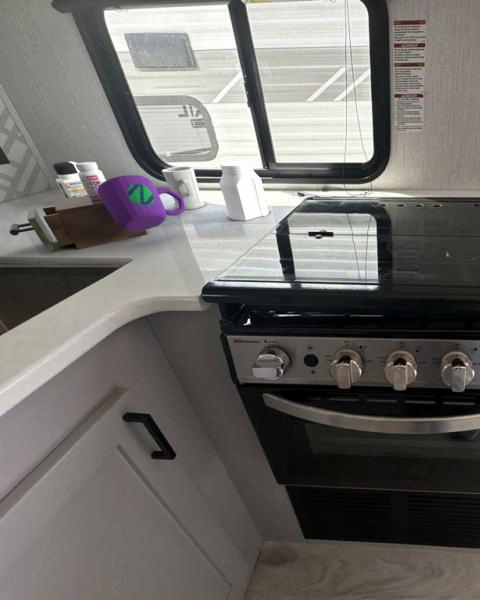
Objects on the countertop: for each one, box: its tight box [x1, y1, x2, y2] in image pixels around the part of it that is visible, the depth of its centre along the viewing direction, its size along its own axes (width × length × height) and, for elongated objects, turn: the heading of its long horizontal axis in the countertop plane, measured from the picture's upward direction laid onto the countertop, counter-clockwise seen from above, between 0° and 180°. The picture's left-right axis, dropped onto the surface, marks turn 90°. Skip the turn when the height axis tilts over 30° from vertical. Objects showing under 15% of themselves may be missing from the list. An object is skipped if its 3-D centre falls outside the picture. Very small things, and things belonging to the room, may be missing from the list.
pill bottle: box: [75, 161, 107, 200], centre depth 83 cm, size 5×5×8 cm
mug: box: [98, 174, 186, 231], centre depth 84 cm, size 17×11×10 cm
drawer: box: [9, 205, 75, 252], centre depth 82 cm, size 18×11×8 cm, turn 133°
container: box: [52, 161, 88, 199], centre depth 117 cm, size 8×8×13 cm
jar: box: [218, 160, 269, 221], centre depth 99 cm, size 12×10×15 cm
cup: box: [161, 166, 206, 211], centre depth 108 cm, size 10×9×12 cm
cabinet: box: [53, 195, 148, 250], centre depth 87 cm, size 15×13×10 cm
